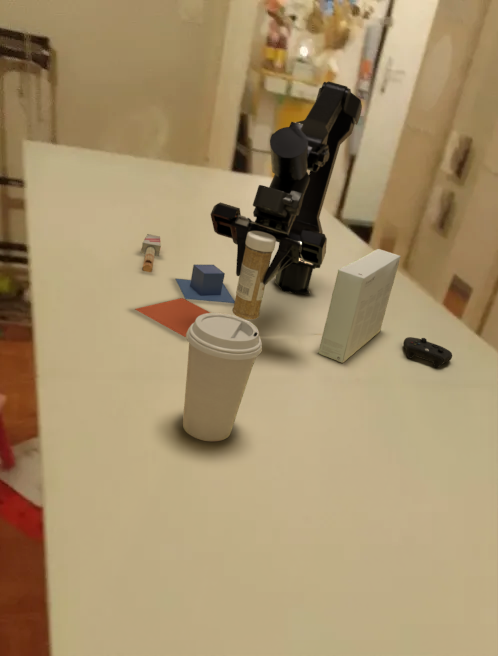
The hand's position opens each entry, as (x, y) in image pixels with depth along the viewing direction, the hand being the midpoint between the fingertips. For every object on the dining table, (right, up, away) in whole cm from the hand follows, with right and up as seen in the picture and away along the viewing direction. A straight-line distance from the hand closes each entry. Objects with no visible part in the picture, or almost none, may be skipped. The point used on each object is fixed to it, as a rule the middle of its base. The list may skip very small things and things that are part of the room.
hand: (250, 279), depth 106 cm
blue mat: (-10, +2, +26) cm, 28 cm away
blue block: (-10, +3, +26) cm, 28 cm away
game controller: (+32, -11, +23) cm, 41 cm away
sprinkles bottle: (-1, -5, +5) cm, 7 cm away
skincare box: (+17, -8, +22) cm, 29 cm away
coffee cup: (-5, -23, -16) cm, 28 cm away
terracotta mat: (-13, -4, +13) cm, 19 cm away
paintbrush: (-23, +11, +36) cm, 45 cm away
